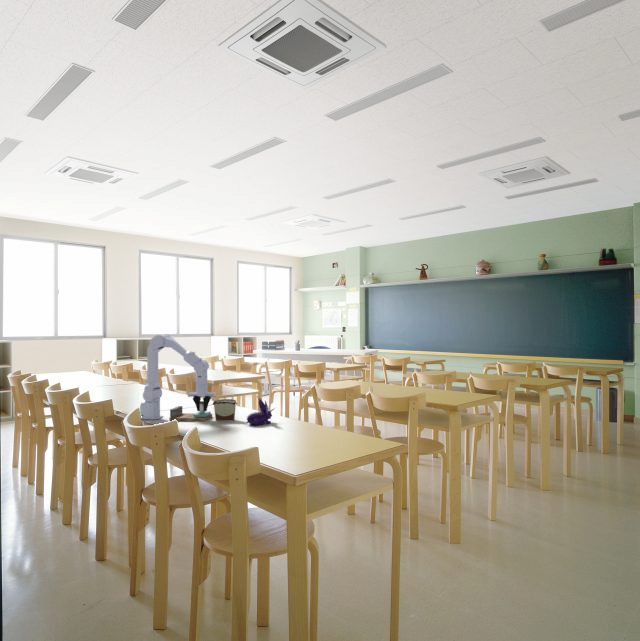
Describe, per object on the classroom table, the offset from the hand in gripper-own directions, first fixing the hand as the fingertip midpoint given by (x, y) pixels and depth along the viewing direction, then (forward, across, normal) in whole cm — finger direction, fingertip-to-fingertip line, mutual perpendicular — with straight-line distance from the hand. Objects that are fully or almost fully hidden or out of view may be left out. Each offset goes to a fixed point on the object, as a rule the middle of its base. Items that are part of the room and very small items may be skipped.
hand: (202, 410), depth 249 cm
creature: (+4, -33, +8) cm, 34 cm away
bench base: (+4, +6, 0) cm, 7 cm away
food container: (+4, -13, 0) cm, 14 cm away
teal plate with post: (+2, 0, 0) cm, 2 cm away
